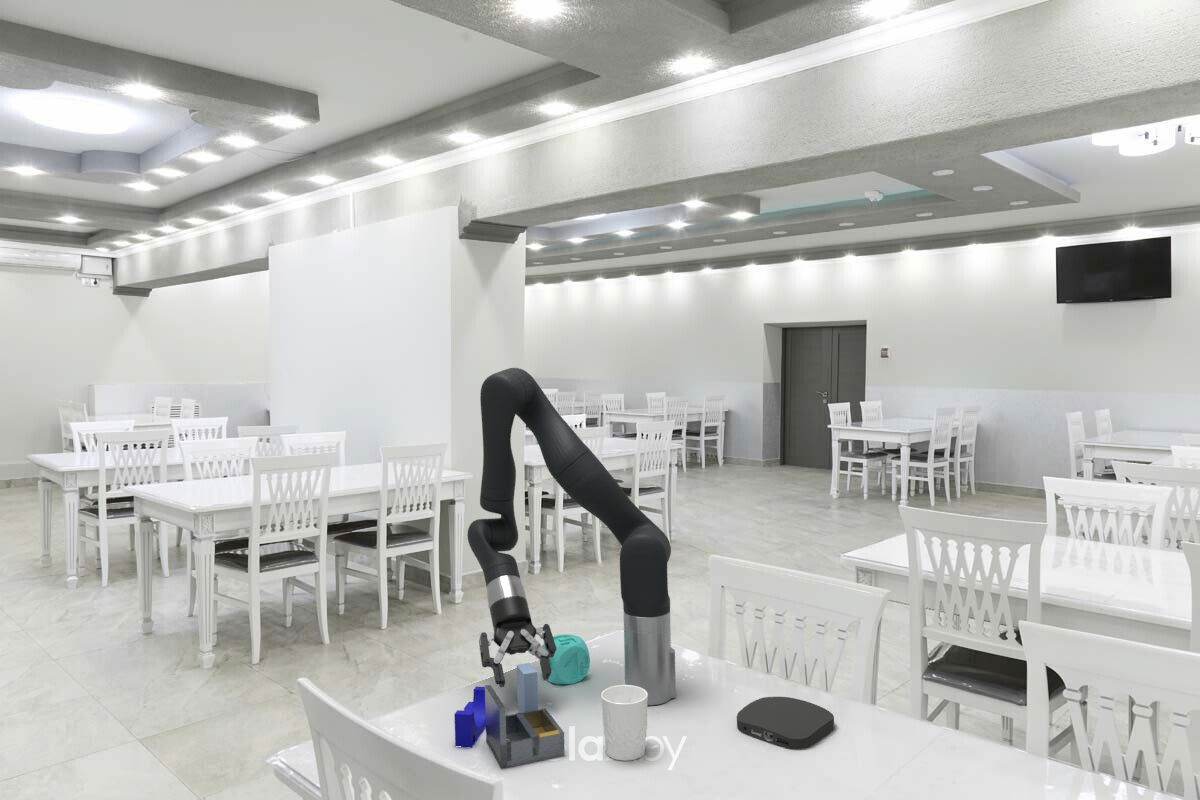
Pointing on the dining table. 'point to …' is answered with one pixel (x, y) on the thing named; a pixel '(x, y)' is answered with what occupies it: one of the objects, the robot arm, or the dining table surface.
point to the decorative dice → (569, 659)
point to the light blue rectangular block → (527, 688)
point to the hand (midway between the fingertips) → (525, 681)
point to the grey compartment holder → (520, 734)
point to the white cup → (624, 721)
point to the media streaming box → (785, 722)
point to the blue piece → (471, 720)
